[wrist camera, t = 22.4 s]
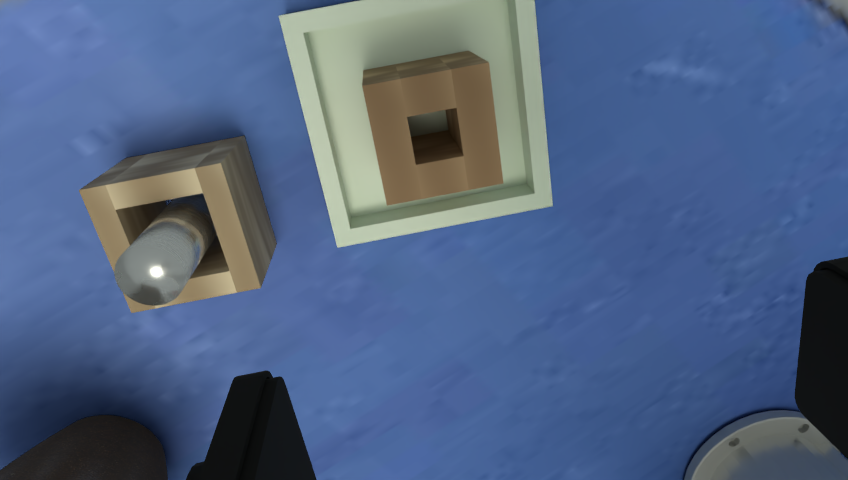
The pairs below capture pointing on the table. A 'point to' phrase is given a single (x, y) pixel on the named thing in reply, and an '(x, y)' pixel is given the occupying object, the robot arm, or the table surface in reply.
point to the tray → (350, 127)
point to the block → (441, 151)
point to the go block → (178, 177)
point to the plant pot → (93, 453)
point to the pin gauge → (166, 252)
